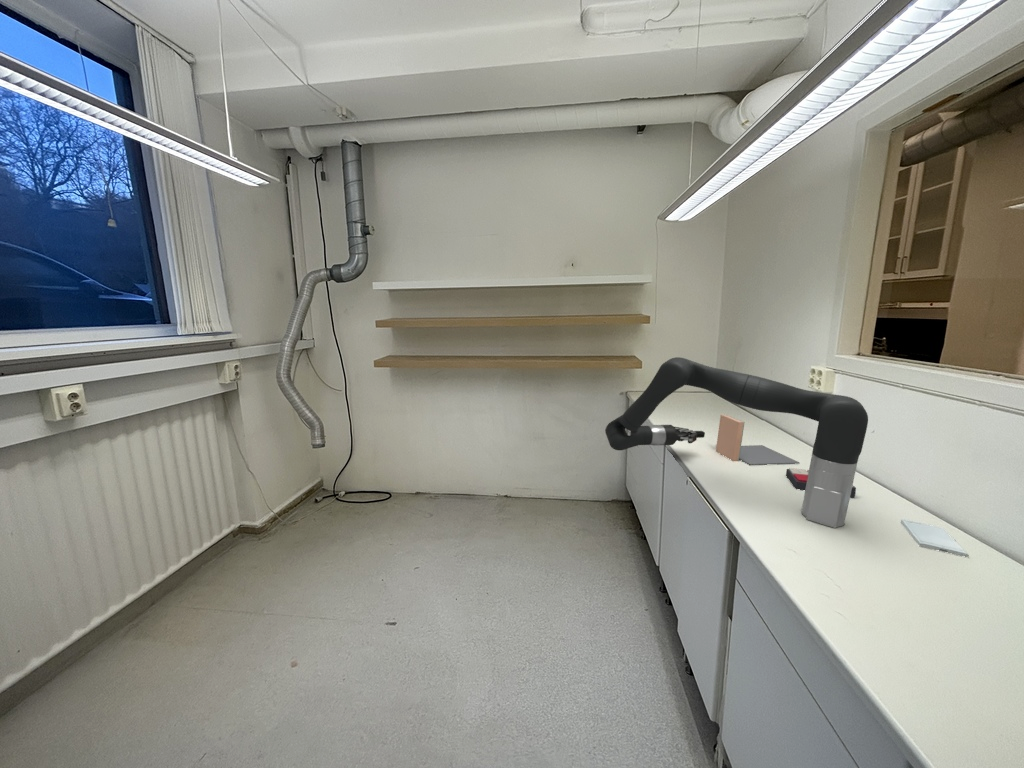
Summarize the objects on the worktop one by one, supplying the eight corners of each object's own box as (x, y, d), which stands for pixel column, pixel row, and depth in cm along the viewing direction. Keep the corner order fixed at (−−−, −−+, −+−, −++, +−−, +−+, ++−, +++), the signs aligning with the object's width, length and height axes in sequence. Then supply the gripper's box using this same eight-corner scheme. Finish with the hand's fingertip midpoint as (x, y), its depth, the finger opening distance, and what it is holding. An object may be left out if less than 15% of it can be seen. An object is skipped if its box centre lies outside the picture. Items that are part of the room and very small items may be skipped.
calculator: (786, 466, 131) (841, 471, 125) (785, 478, 131) (839, 484, 126) (797, 479, 120) (857, 485, 115) (795, 492, 121) (855, 499, 116)
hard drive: (901, 518, 103) (920, 542, 92) (944, 527, 99) (969, 553, 88) (899, 524, 103) (918, 548, 93) (942, 533, 99) (967, 560, 89)
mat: (749, 465, 139) (749, 464, 139) (717, 447, 156) (717, 446, 156) (799, 463, 142) (799, 462, 142) (762, 446, 159) (762, 445, 159)
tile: (733, 461, 142) (738, 422, 139) (715, 451, 152) (720, 414, 149) (739, 461, 143) (745, 422, 140) (721, 451, 152) (726, 414, 150)
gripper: (670, 430, 135) (716, 430, 137) (652, 420, 148) (694, 419, 150) (668, 451, 136) (713, 450, 139) (650, 438, 149) (691, 437, 151)
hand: (703, 434), depth 144 cm, fingers closed
